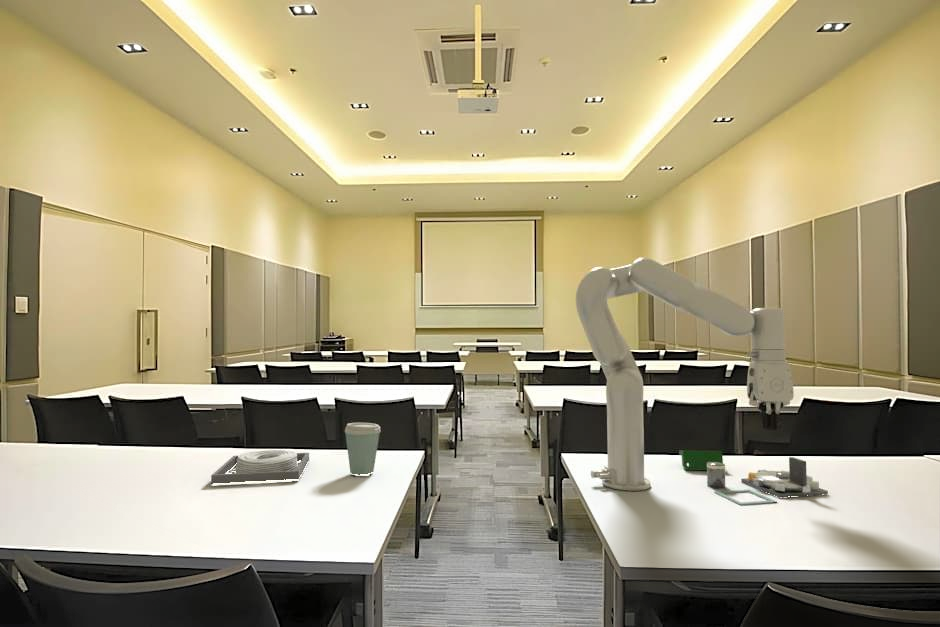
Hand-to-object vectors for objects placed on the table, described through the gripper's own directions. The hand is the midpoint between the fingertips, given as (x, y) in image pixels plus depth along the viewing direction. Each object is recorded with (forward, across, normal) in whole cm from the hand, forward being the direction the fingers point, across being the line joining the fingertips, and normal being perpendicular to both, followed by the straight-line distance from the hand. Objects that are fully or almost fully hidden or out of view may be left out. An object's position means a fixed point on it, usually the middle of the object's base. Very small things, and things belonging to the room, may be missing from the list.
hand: (770, 428), depth 135 cm
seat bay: (+17, -7, +1) cm, 18 cm away
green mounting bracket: (+17, -1, +28) cm, 33 cm away
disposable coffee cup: (+17, -102, +41) cm, 111 cm away
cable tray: (+16, -131, +48) cm, 140 cm away
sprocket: (+16, +8, +6) cm, 18 cm away
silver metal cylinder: (+17, -8, +11) cm, 22 cm away
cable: (+17, -130, +48) cm, 140 cm away
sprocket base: (+17, +8, +6) cm, 20 cm away
